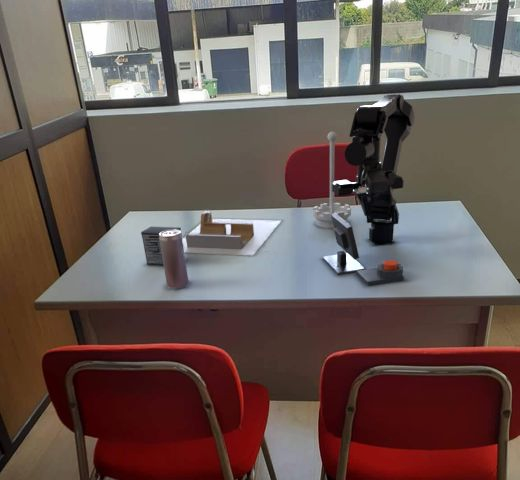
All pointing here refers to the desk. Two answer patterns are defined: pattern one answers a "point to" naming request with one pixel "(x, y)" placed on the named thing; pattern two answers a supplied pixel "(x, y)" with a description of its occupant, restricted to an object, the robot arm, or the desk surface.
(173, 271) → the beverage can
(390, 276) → the console
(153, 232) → the small box
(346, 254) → the monitor stand
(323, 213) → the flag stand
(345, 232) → the screen
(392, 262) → the power button
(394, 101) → the robot arm
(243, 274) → the desk surface
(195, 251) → the walled white board
